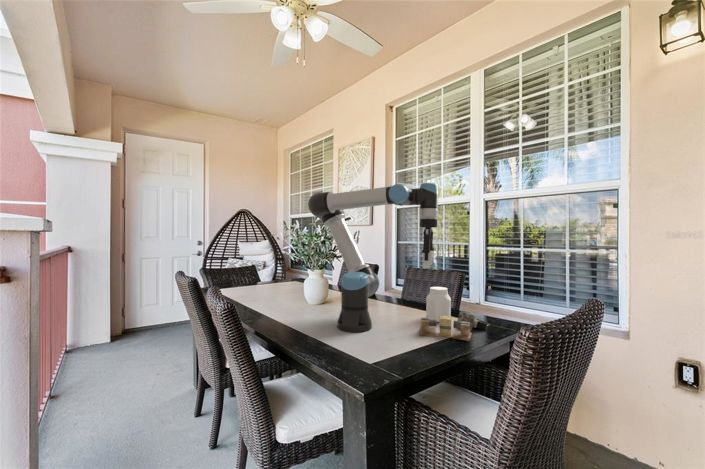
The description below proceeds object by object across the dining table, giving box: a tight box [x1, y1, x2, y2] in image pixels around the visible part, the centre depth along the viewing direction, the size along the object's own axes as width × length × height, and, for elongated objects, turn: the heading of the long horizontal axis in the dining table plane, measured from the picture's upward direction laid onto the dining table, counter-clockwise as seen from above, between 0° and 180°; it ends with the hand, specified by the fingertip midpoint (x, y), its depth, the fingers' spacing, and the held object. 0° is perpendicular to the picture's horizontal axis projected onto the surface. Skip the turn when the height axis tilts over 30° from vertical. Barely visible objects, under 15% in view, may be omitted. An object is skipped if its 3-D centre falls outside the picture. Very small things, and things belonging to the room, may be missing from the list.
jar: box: [425, 286, 452, 323], centre depth 157 cm, size 12×10×15 cm
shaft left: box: [419, 317, 438, 337], centre depth 136 cm, size 6×8×6 cm
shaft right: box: [451, 320, 473, 342], centre depth 132 cm, size 6×8×6 cm
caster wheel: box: [456, 310, 488, 332], centre depth 144 cm, size 7×11×10 cm
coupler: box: [438, 316, 452, 338], centre depth 135 cm, size 5×5×7 cm
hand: (427, 266), depth 145 cm, fingers open, 13 cm apart
